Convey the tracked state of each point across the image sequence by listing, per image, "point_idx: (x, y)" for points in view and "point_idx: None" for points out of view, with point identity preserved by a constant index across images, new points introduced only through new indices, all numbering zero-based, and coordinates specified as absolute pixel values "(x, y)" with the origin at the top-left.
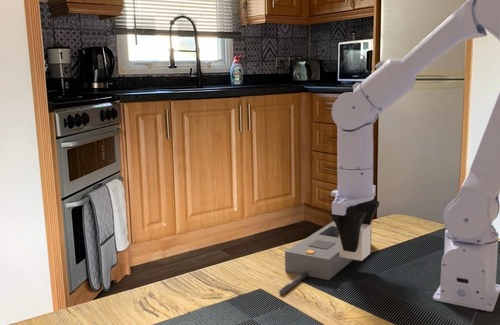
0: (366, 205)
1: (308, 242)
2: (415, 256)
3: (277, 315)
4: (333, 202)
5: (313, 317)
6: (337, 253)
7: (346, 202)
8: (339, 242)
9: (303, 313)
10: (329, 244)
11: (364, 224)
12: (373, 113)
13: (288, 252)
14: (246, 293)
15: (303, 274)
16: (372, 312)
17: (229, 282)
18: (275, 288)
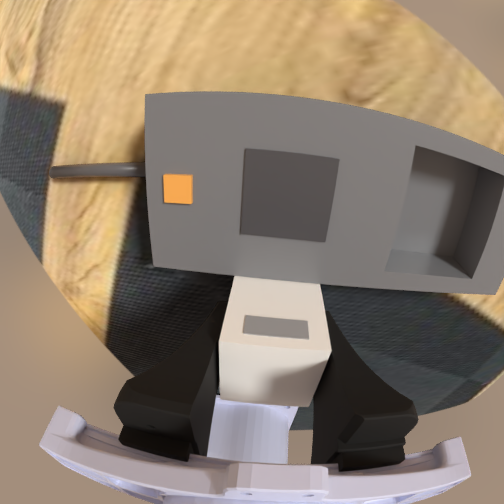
0: (318, 463)
1: (295, 133)
2: (405, 353)
3: (17, 204)
4: (43, 448)
5: (43, 257)
6: (223, 273)
7: (83, 474)
8: (229, 300)
9: (41, 239)
10: (297, 226)
11: (307, 395)
12: None
13: (146, 109)
14: (38, 98)
15: (142, 174)
16: (110, 330)
17: (66, 26)
18: (78, 134)
